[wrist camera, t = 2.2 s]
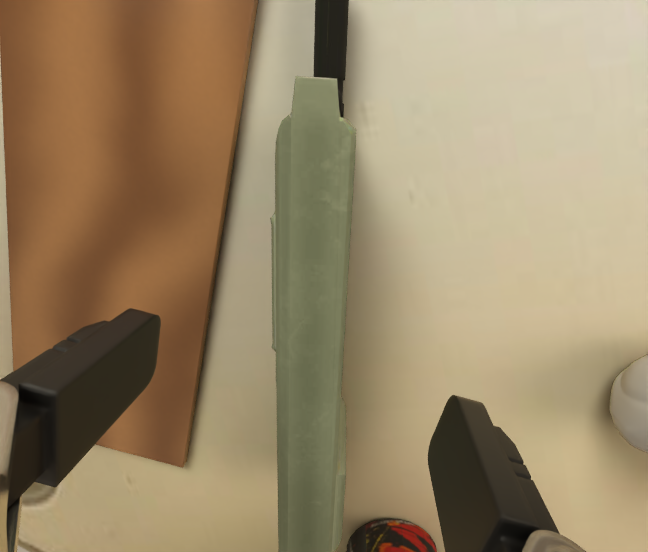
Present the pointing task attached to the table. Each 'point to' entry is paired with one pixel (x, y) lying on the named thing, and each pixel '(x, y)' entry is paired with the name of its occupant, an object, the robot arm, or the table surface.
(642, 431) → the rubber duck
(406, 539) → the deodorant
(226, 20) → the wooden board
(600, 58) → the table surface
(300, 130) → the handheld radio
